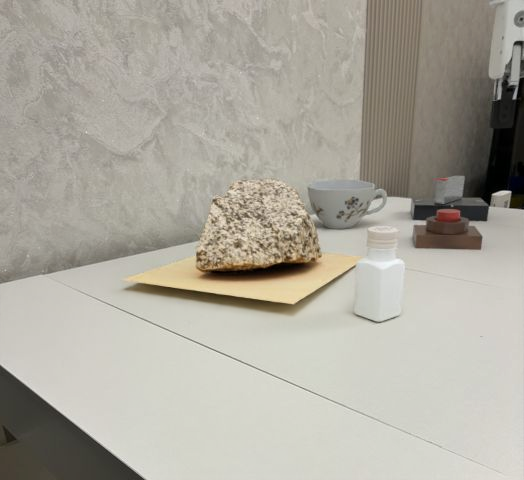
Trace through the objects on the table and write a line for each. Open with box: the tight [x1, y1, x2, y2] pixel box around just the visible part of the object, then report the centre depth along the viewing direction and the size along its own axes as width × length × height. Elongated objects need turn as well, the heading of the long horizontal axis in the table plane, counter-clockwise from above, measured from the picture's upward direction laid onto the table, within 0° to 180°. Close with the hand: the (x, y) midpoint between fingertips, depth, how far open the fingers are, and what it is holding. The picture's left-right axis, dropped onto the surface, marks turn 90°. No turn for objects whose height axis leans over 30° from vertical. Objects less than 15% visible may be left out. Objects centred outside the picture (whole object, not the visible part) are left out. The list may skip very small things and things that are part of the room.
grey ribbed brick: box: [434, 175, 466, 204], centre depth 110 cm, size 9×2×5 cm, turn 139°
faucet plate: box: [409, 196, 490, 222], centre depth 112 cm, size 14×13×3 cm
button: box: [436, 209, 460, 222], centre depth 89 cm, size 4×4×2 cm
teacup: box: [306, 178, 388, 230], centre depth 104 cm, size 15×12×8 cm
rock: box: [121, 178, 365, 305], centre depth 76 cm, size 28×22×16 cm
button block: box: [412, 216, 484, 251], centre depth 90 cm, size 10×8×4 cm
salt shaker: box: [353, 225, 406, 323], centre depth 58 cm, size 4×4×10 cm
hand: (500, 127), depth 87 cm, fingers closed
